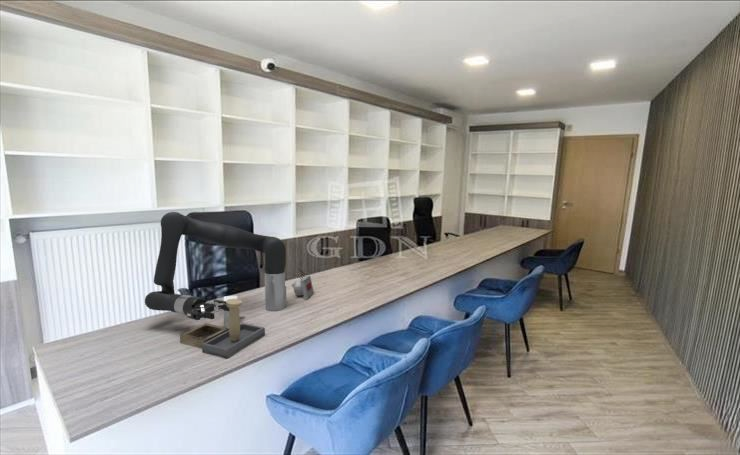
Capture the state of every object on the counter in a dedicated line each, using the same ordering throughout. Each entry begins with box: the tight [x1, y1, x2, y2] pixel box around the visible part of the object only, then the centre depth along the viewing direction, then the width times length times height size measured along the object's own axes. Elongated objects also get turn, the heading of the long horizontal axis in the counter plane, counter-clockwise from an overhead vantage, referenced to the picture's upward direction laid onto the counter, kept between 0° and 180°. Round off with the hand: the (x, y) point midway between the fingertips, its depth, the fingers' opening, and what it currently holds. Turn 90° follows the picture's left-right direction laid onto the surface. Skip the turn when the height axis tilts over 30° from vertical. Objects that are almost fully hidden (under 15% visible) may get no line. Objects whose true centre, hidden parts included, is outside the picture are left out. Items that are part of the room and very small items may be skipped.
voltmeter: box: [291, 268, 315, 300], centre depth 191 cm, size 27×11×10 cm, turn 26°
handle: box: [226, 298, 243, 342], centre depth 130 cm, size 5×6×15 cm
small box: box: [222, 295, 239, 328], centre depth 149 cm, size 8×6×10 cm
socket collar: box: [179, 322, 229, 349], centre depth 134 cm, size 12×12×3 cm
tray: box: [201, 322, 266, 359], centre depth 131 cm, size 20×11×3 cm, turn 158°
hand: (222, 312), depth 132 cm, fingers open, 8 cm apart
